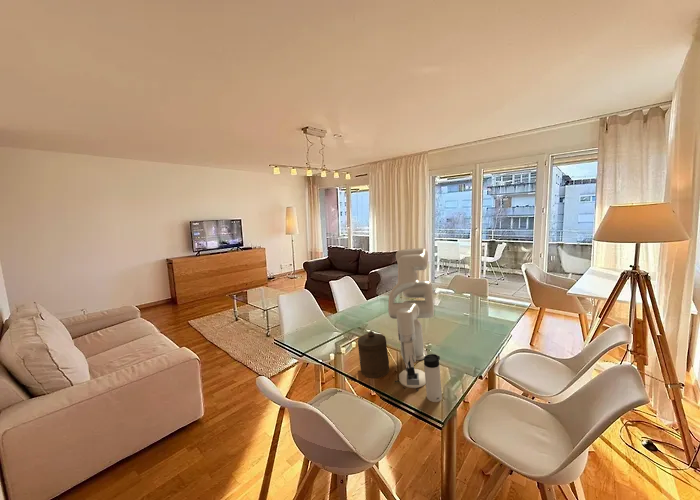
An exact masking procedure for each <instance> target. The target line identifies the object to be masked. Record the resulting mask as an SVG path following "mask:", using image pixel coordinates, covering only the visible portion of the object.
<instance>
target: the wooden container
mask: <svg viewBox="0 0 700 500" xmlns="http://www.w3.org/2000/svg"><path fill="white" fill-rule="evenodd" d="M357 347H358V348H357V349H358V356H359V357H358V358H359V366H360V372H361V374H362V375H363V376H364V377H365V378H368V379H369V378H370V379H379V378H383V377H385V376H386V375H388V374H389V372H390V361H389V355H388V354H389V353H388V347H387V338H386V336H385V335H384V334H381V333H375V332H373V331H369V332H367V333H365V334H363V335H361V336H359V338H358V339H357Z"/></svg>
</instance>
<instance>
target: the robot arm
mask: <svg viewBox="0 0 700 500" xmlns="http://www.w3.org/2000/svg"><path fill="white" fill-rule="evenodd" d="M395 259H396V262H397V269H398V270H397V283H396V284H395V285H394V286H393V288H392V289H391V290H390V293H389V295H388V305H387V306H388V308H387V311H388V316H389V318H391V319H393V320H396V325H397V334H398V335H397V336H398V340H399V342H400V353H401V357H402V360H403V363H404V364H405V363H406V364H407V366H408V367H407V370H406V369H405V370H406V371H407V373H408V376H413V375H415V370H414V369H415V364H414V363H416V361H422V360H424V358H425V356H426V355H428V352H427V350H425V348H424V337H423V325H422V323H421V321H420V320H419V319H431V318H433V317H434V314H435V306H434V305H435V303H434V293H433V292H434V291H433V290H434V289H433V286H432V283H431V282H430V281H429V280H424V279H423V280H419V279H418V278H419V277H418V276H419V275H418V271H425V270H427V267H428V260H429V254H428V251H427V249H426V248H421V247H420V248H405V249H399V250H398V251H396V253H395ZM401 293H403V296H404V297H405V298H407V299H409V300H405V301H403V302H395V301H396V298H397V297H398V295H400V294H401ZM413 299H414V300H413ZM415 299H416V300H415ZM417 299H419V300H417ZM422 299H423V300H422ZM409 360H410V361H409ZM409 363H410V364H409ZM405 368H406V366H405Z"/></svg>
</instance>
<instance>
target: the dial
mask: <svg viewBox="0 0 700 500" xmlns="http://www.w3.org/2000/svg"><path fill="white" fill-rule="evenodd" d="M414 370H415V378H416V379H409V377H408V373H407V371H406V369H404V370H402V371H401V372H400V373H399V374H398V378H399V379H398V381H399V383H400V384H401V385H402V386H404V387H405V388H409V389H410V388H411V389H416V388H421V387H423V386H426V381H425V371H423V369H422V370H421V369H419V368H414Z"/></svg>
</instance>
